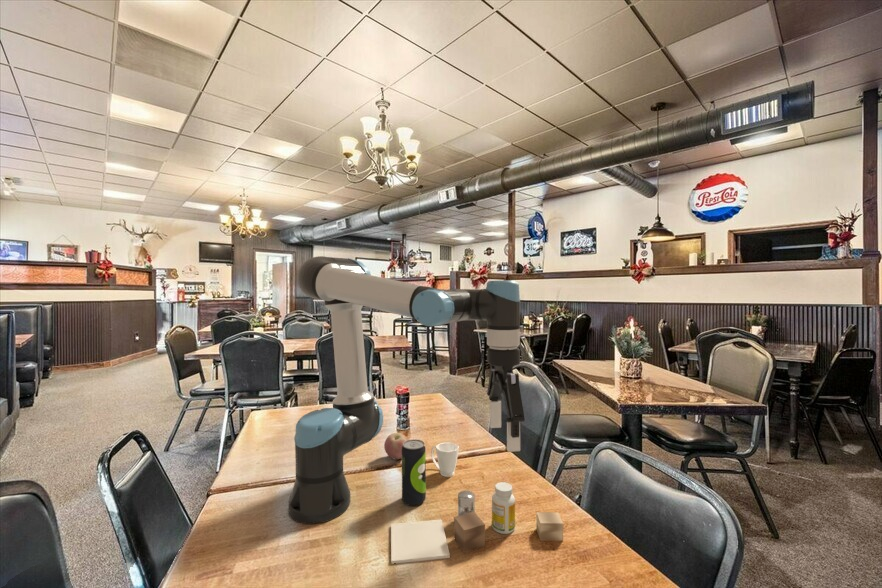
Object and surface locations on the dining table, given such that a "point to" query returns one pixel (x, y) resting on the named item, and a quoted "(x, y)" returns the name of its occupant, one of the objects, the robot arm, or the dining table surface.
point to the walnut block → (469, 532)
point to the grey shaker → (466, 502)
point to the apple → (395, 445)
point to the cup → (446, 458)
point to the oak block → (549, 526)
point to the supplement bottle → (503, 508)
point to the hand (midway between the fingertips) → (503, 438)
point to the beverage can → (413, 472)
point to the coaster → (418, 541)
